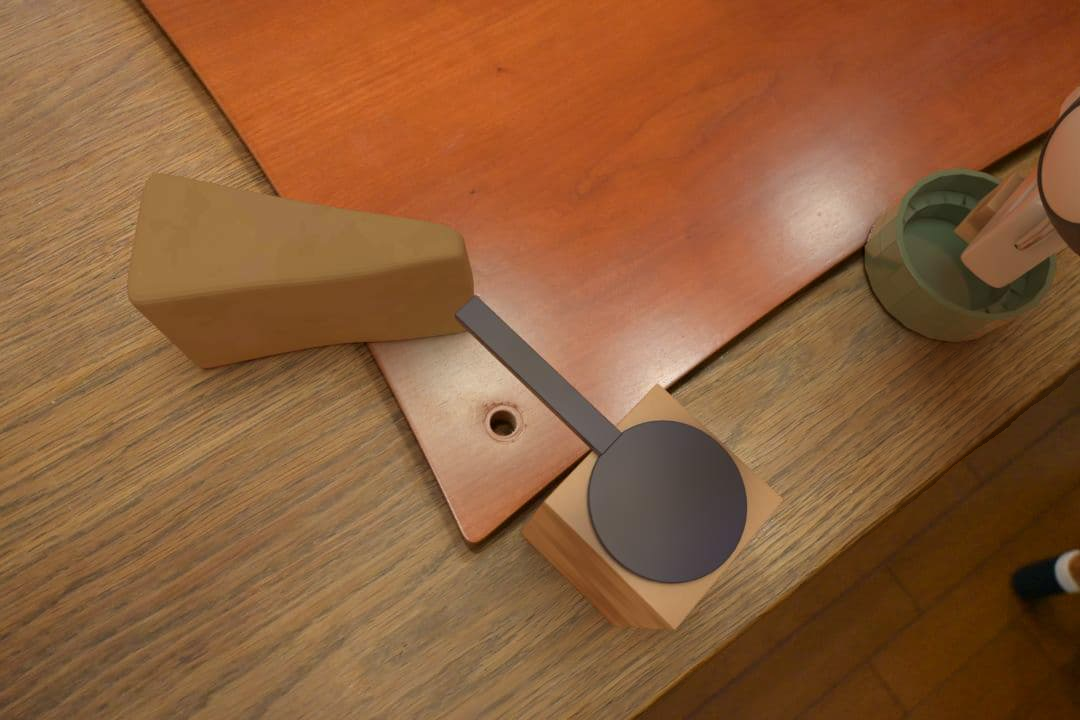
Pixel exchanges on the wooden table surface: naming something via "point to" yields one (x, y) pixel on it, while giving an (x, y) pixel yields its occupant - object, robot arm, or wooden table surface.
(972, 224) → the wooden block
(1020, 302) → the green round bowl
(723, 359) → the wooden table surface
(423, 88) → the wooden table surface
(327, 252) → the tan wooden wedge
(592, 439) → the spoon stand
